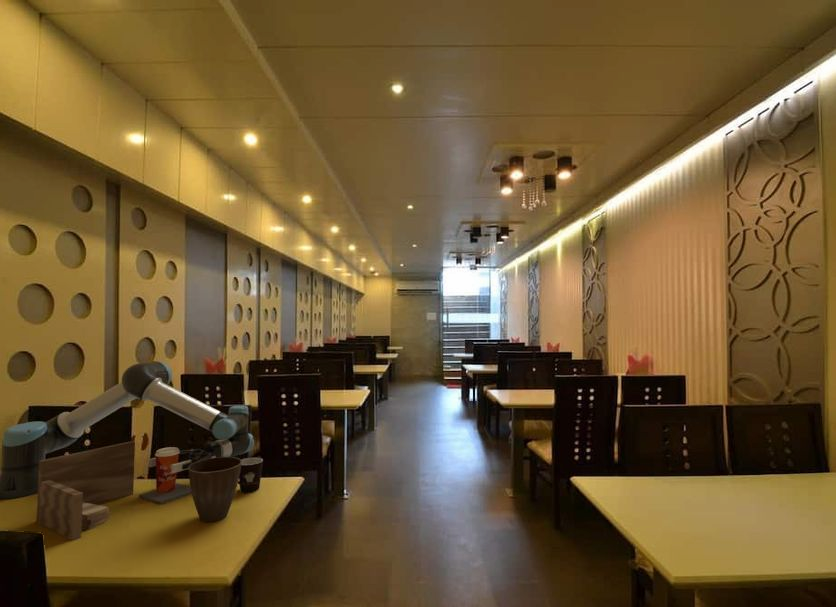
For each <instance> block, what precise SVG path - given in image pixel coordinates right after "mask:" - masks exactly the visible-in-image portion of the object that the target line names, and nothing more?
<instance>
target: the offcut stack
mask: <svg viewBox="0 0 836 607" xmlns="http://www.w3.org/2000/svg"><path fill="white" fill-rule="evenodd" d="M109 509H110V508H109V506H106V505H102V504H99V505H95V504H90V503H84V502H83V506H82V528H81V530H86V531H89V530H92V529H94V528H96V527H98V526H100V524H101V525H103V524H104V522H105V523H107V522H106V521H108V520H109V521H110V516H111V510H109ZM109 521H108V522H109ZM102 523H103V524H102Z"/></svg>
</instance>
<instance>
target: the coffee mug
mask: <svg viewBox="0 0 836 607" xmlns="http://www.w3.org/2000/svg"><path fill="white" fill-rule="evenodd" d="M241 461H242V463H241V470H240V475H239V480H238V484H237V485H239V490H240V491H241V492H240V493H242V492H251V493H254V492H253V491H255V492H257V491H259V490H260V485H261V478H262V470H263V462H264V459H263V458H261V457H248V458H243V459H241ZM258 489H259V490H258ZM256 490H257V491H256Z"/></svg>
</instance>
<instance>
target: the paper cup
mask: <svg viewBox="0 0 836 607" xmlns="http://www.w3.org/2000/svg"><path fill="white" fill-rule="evenodd" d="M180 451H181V450H180V449H179V448H178V447H177V446H176V447H175V446H173V447H171V446H169V447H164V448H159V449H158V450H156V452H155V454H154V456H155V458H156V466H155V486H156V487H155V490H157V492H158V493H166V492H170V491H173V490H174V489H175V483H177V482H176V481H177V473H178V472H176V473H173V474H172V473H171V465H173V464H177V463H179V460H178V456H179V453H180Z"/></svg>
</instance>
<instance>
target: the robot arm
mask: <svg viewBox="0 0 836 607" xmlns="http://www.w3.org/2000/svg"><path fill="white" fill-rule="evenodd" d="M172 375H173V373H172V370H171V368H170V366H169V365H168V364H167V363H165V362H163V361H157V360H153V361H149V362H142V363H141V362H140V363H135V364H133V365H130V366H129V367H128V368H126V369H125V370H124V372H123V373H122V377H121V380H120V382H118V384H116V385H114V386H112V387H110V388H109V389H108V390H106V391H104V392H102V393H100V394H99V395H97V396H95V397H94V398H92V399H90V400H89V401H87V402H86V403H84V404H83V405H81V406H79V407H77V408H75V409H74V410H72V411H71V412H69V411H64V412H61V413H60V414H58V415H56V416H54V417H53V418H51V419H49V420H48V421H47V420H46V421H39V420H38V421H28V422H24V423H19V424H16V425H12V426H10V427H8V428H7V429H5V431H4V432H3V435H2V440H1V444H2V445H1V463H0V466H1V467H0V500H6V499H7V500H8V499H14V498H21V497H22V498H23V497H26V496H30V495H33V494H38V480H39V461H40V460H45V459H46V455H47V454H49V453H52V452H55V451H57V450H61V449H64V448H67V447H68V446H70V445H72V444H73V443H75V442H76V441H77V440H78V439H79V438H80V437H81V436H82V435H84V433H85V430H86V429H87V428H89V427H91V426H93V425H95V423H97V422H99V421H101V420H102V419H104V418H106V417H107V416H109V415H111V414H112V413H115V412H116V411H117V410H118V409H121V408H122V407H124V406H126V405H128V404H129V403H131V402H132V401H133V400H134V401H135V400H136V399H138V400H141V401H143V402H147V401H149V402H152V403H153V404H156V405H157V406H160V407H162V408H164V409H166V410H168V411H170V412H172V413H174V414H176V415H177V416H180V417H182V418H184V419H186V420H188V421H189V422H192V423H194V424H195V425H198V426H200V427H202V428H204V429H206V430H209V431H211V432H212V435H213V436H214V438H216V439H217V440H215V441H211V442H210V441H209V442H207V443H204V445H203V446H202V448H197V449H196V448H191V449H186V450H184V449H183V450H179V451H180V453H179V456H178V461H181V462H178V463H177V464H173V465H171V473H172V474H173V473H176V472H177V473H179V472H182V471H185V470H188V467H189V466H190V465H191V464H193V463H195V462H198V461H201V460H205V459H209V458H216V457H236V456H238V455H243V454H246V453H248V452H250V451H252V450H253V448H254V446H255V439H254V436H253V435H252V433H249V415H250V414H249V407H248V406H247V405H233V406H230V407H229V409H228V413H227V414H226V413H224V412H222V411H221V410H218V409H216V408H214V407H212V406H210V405H208V404H206V403H204V402H202V401H201V400H198V399H196V398H194V397H192V396H190V395H188V394H186V393H184V392H182V391H180V390H178V389H176V388H175V387H173V386H171V385H169V384H170V382H171V381H172V377H173V376H172ZM152 467H156V457H153V458H149V460H148V468H152Z"/></svg>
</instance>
